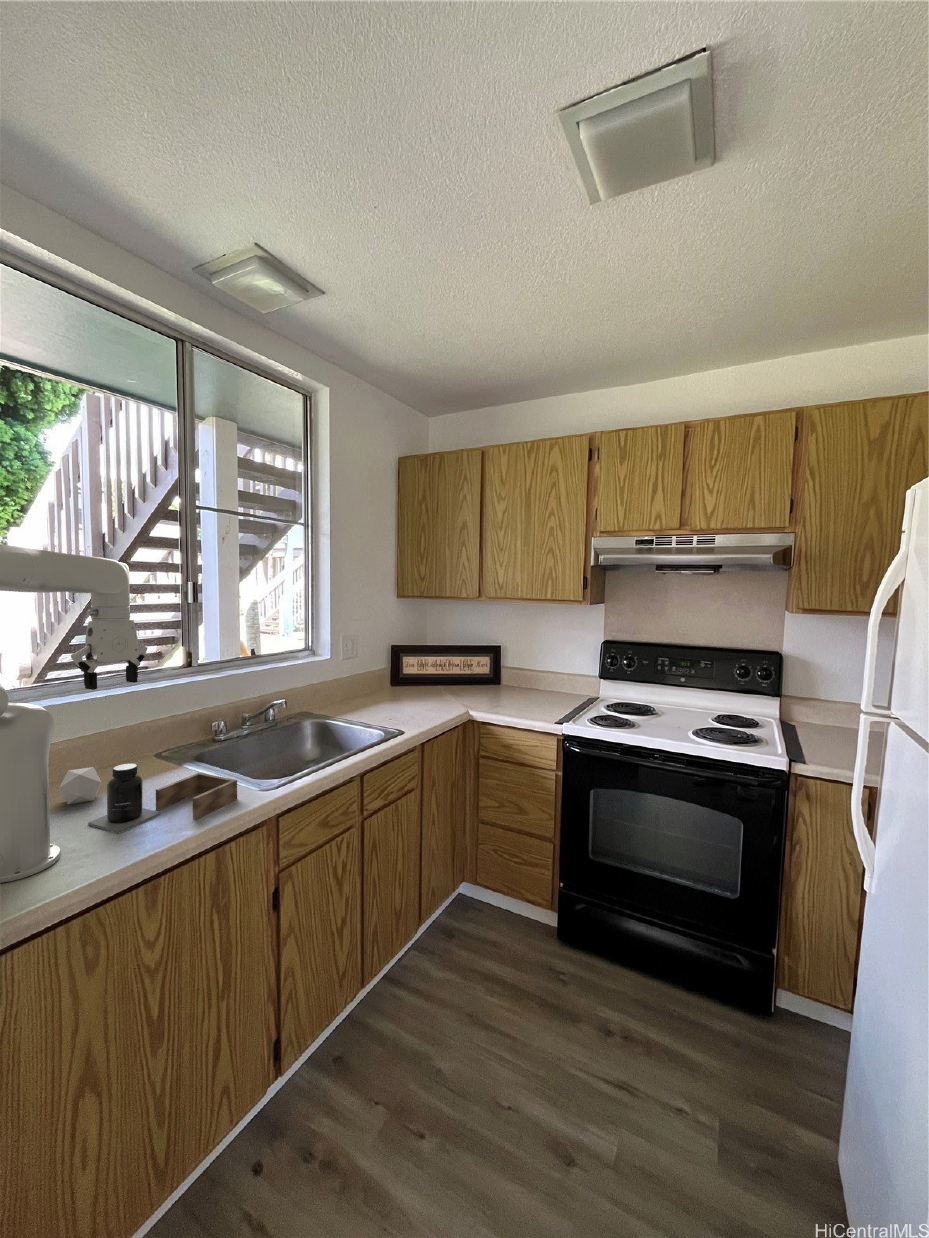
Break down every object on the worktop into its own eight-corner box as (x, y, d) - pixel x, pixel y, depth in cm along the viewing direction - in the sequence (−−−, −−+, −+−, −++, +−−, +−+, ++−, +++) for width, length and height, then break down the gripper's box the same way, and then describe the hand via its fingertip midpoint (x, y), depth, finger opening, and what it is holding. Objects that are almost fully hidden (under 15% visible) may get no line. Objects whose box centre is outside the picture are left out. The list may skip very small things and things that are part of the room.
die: (105, 793, 133) (81, 764, 132) (114, 785, 128) (89, 755, 127) (72, 815, 126) (46, 785, 125) (80, 807, 121) (54, 776, 120)
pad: (119, 833, 110) (119, 830, 110) (88, 825, 114) (88, 822, 114) (160, 814, 120) (160, 812, 120) (131, 807, 123) (131, 804, 123)
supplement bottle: (117, 826, 112) (116, 774, 112) (101, 819, 116) (100, 768, 115) (149, 815, 118) (148, 765, 118) (132, 808, 122) (132, 759, 121)
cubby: (196, 819, 118) (195, 798, 118) (155, 809, 122) (155, 789, 122) (237, 799, 130) (237, 780, 129) (199, 790, 134) (199, 772, 134)
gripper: (83, 616, 110) (84, 693, 111) (155, 613, 126) (156, 680, 127) (60, 615, 113) (62, 690, 114) (134, 612, 129) (135, 678, 130)
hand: (112, 685), depth 121 cm, fingers open, 9 cm apart
